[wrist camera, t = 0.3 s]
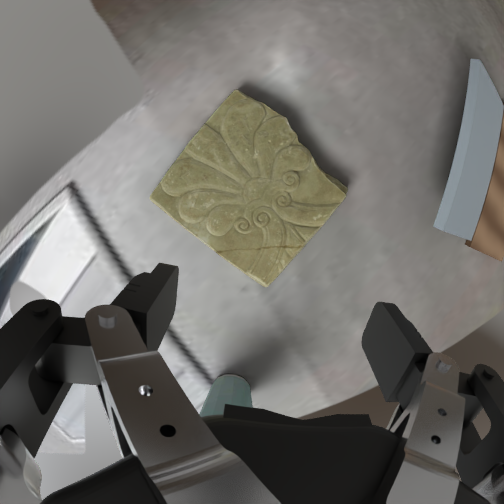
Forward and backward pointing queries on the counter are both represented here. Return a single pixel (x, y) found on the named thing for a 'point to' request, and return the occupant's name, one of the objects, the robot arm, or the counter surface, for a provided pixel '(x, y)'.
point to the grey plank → (472, 156)
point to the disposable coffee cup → (227, 394)
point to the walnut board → (492, 210)
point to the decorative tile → (249, 188)
